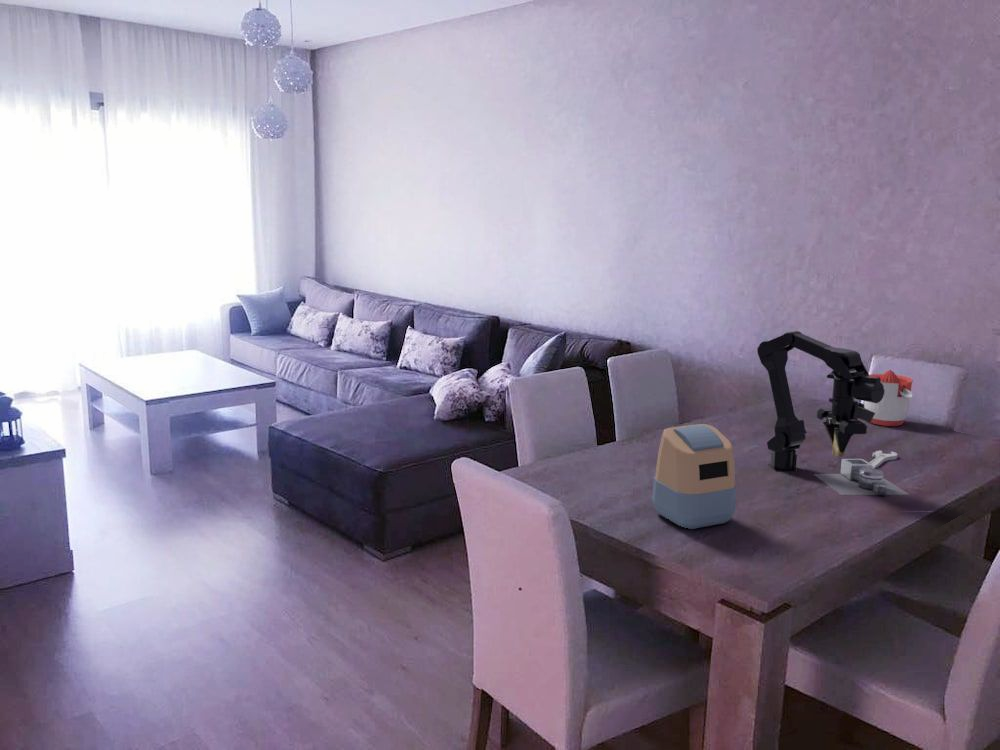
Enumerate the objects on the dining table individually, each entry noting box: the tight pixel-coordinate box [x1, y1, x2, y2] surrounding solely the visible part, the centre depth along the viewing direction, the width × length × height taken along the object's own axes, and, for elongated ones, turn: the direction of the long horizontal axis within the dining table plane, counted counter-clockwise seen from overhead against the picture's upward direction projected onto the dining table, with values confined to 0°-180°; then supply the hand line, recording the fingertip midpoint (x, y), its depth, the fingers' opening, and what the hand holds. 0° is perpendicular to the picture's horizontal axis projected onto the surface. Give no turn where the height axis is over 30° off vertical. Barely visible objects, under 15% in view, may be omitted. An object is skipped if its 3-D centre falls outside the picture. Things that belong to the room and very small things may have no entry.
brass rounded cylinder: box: [832, 427, 846, 457], centre depth 225 cm, size 3×3×8 cm
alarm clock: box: [651, 423, 737, 530], centre depth 201 cm, size 17×17×23 cm
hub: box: [858, 468, 884, 491], centre depth 225 cm, size 6×6×5 cm
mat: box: [813, 473, 909, 496], centre depth 229 cm, size 19×18×1 cm
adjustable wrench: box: [868, 450, 898, 469], centre depth 249 cm, size 25×6×2 cm, turn 135°
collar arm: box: [840, 458, 888, 496], centre depth 227 cm, size 20×6×4 cm, turn 2°
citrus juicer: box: [863, 369, 914, 427], centre depth 294 cm, size 16×17×20 cm
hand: (838, 450), depth 225 cm, fingers closed on brass rounded cylinder, 3 cm apart
